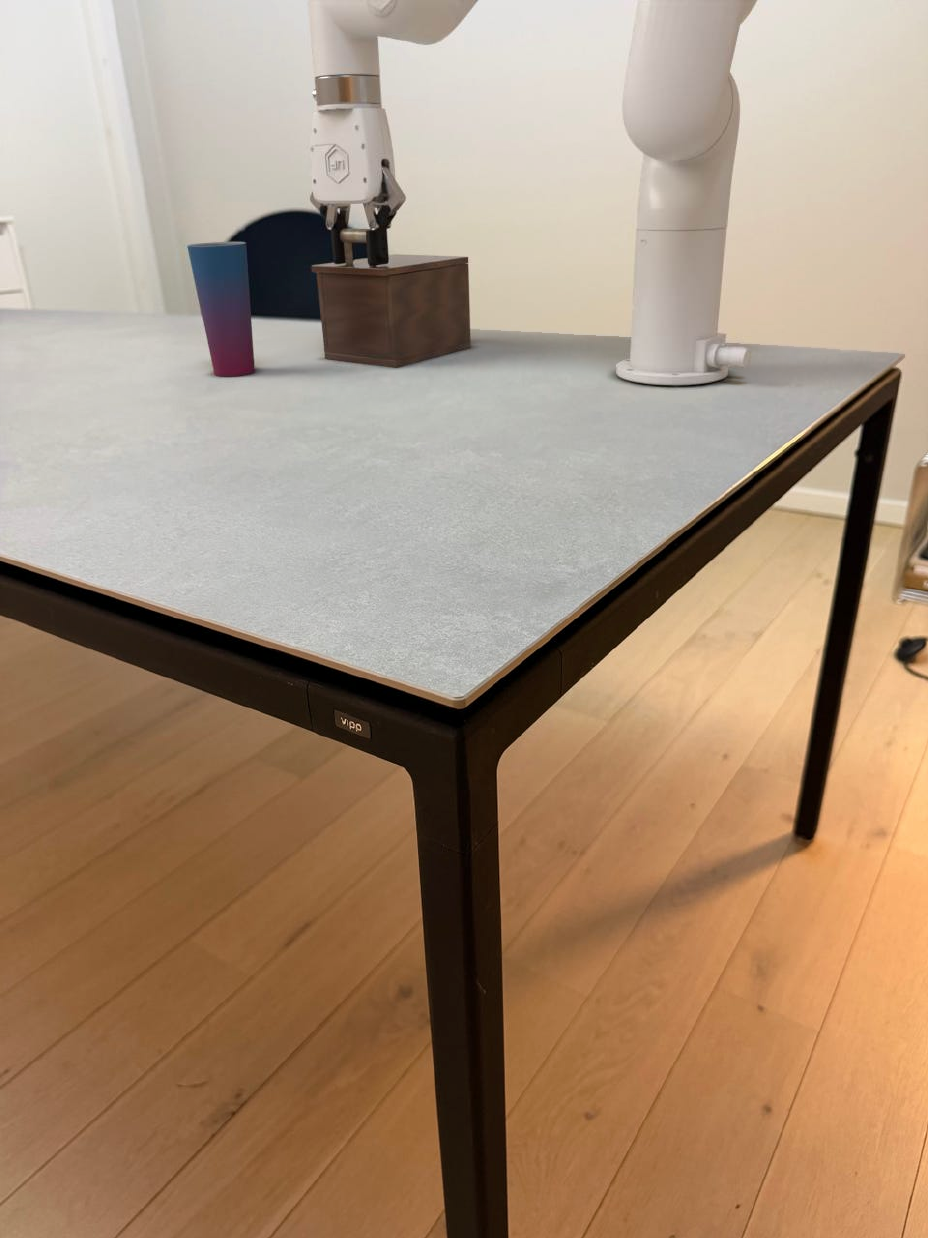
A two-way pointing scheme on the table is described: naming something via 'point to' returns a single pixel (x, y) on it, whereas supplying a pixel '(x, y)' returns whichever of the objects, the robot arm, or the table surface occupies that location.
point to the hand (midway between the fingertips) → (361, 262)
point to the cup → (225, 304)
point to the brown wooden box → (395, 315)
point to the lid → (394, 266)
